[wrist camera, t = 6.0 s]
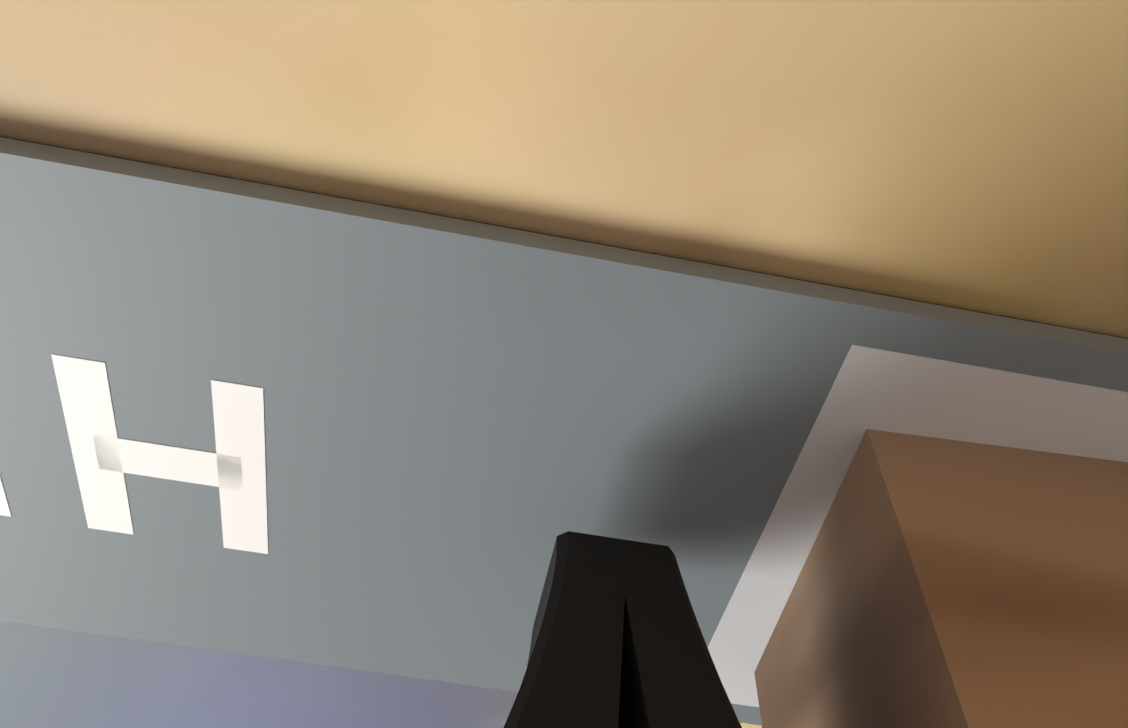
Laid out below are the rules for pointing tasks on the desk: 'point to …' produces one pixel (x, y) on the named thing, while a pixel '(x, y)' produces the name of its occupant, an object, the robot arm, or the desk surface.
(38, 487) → the board
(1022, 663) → the walnut block
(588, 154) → the desk surface
